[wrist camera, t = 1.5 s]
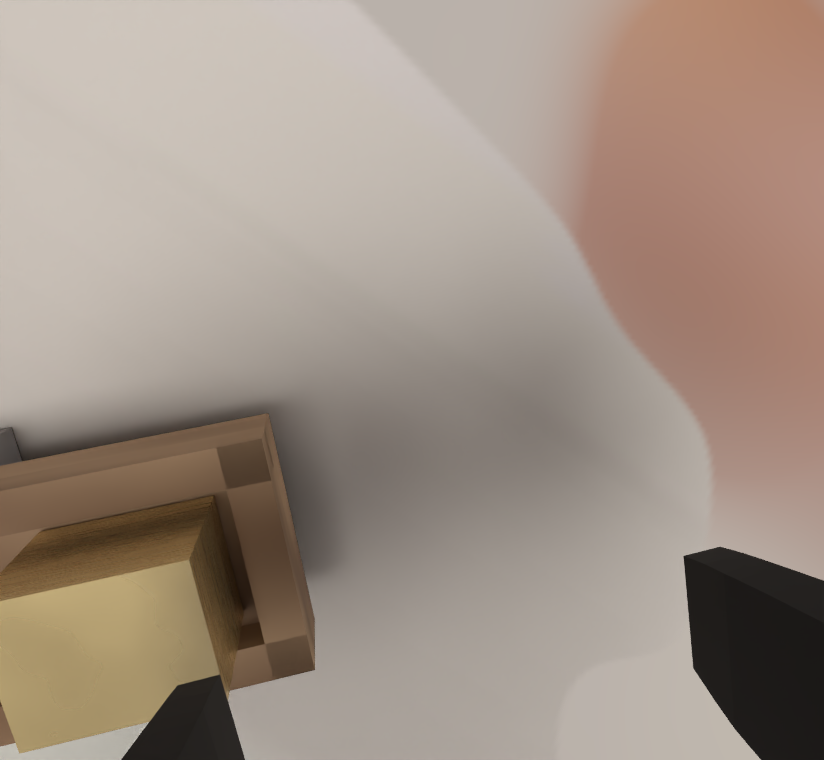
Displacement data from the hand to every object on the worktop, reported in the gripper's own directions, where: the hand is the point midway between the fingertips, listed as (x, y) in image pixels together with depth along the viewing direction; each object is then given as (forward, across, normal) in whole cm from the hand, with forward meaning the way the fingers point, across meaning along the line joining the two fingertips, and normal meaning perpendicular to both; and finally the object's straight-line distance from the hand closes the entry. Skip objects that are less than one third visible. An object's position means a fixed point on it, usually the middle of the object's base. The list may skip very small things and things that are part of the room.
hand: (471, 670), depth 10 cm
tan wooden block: (+7, +6, 0) cm, 9 cm away
